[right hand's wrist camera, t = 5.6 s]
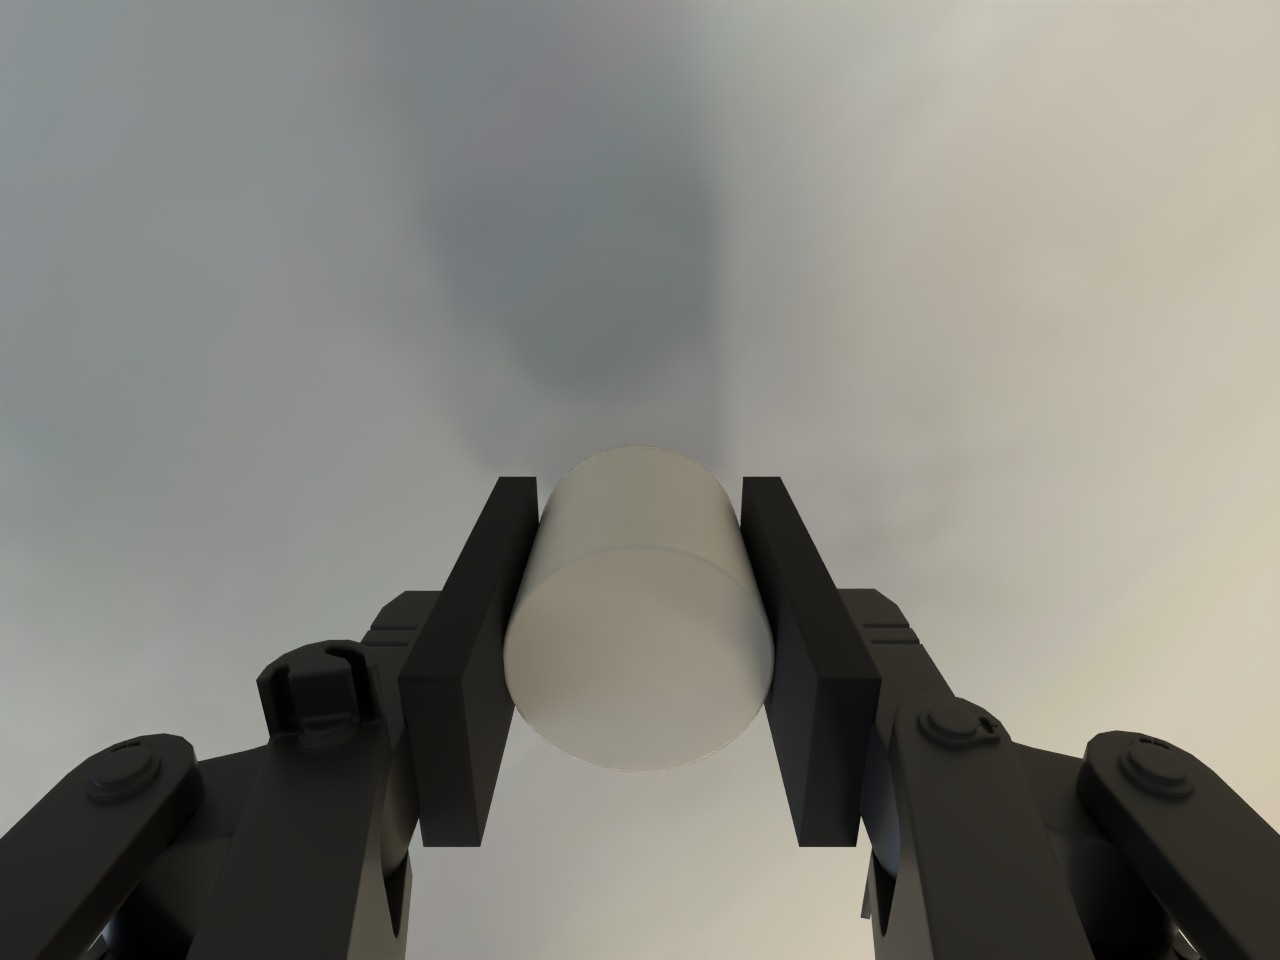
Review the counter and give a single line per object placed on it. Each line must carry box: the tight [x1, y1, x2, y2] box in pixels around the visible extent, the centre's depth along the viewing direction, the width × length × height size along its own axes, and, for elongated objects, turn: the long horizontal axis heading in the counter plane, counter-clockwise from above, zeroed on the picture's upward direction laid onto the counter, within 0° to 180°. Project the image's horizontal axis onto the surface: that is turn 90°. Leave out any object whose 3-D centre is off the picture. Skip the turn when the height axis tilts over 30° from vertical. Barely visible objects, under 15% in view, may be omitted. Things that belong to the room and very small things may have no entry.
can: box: [503, 446, 775, 772], centre depth 13 cm, size 4×4×4 cm
